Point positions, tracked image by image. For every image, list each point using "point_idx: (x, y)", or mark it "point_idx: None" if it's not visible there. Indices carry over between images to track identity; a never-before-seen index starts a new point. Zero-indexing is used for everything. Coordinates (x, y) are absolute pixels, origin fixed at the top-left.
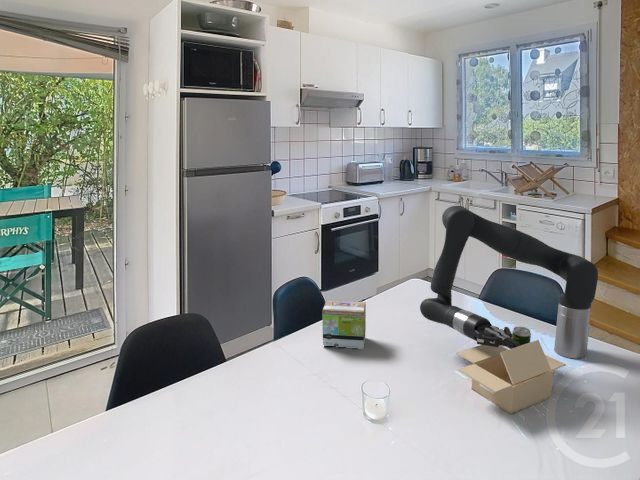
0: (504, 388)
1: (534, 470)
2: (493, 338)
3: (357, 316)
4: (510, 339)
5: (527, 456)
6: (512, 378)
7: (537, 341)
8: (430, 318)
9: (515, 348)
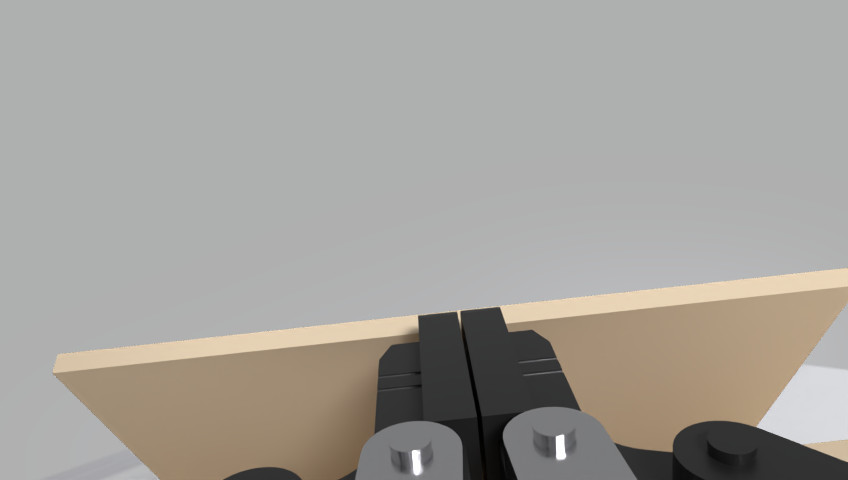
0: (842, 443)
1: (813, 375)
2: (837, 469)
3: None
4: (453, 385)
5: (807, 417)
6: None
7: (96, 361)
8: None
9: (560, 305)
